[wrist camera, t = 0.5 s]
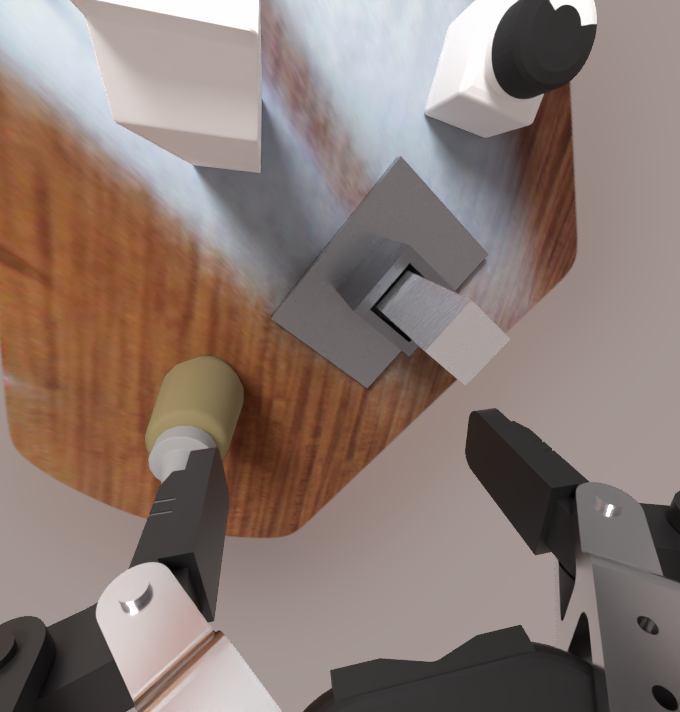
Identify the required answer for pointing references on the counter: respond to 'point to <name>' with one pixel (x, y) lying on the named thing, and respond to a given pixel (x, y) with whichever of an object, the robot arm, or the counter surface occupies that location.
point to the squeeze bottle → (193, 413)
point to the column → (442, 324)
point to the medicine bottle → (508, 61)
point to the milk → (184, 75)
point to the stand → (377, 273)
